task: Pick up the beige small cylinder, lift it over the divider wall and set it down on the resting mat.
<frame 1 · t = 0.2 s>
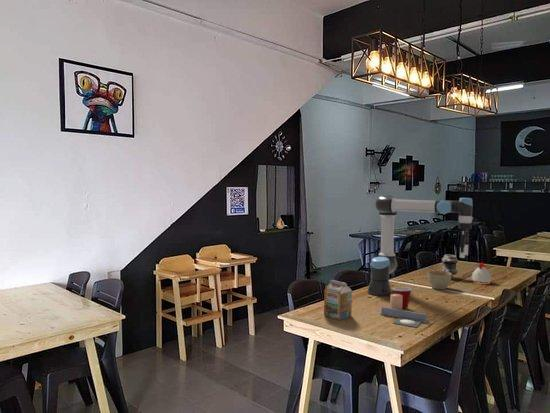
hand: (463, 256, 267), 28 cm above the table, fingers open, 13 cm apart
milk carton: (337, 316, 232), on the table
kitchen timer: (481, 282, 320), on the table
planter bowl: (438, 288, 300), on the table
resting mat: (407, 322, 222), on the table
beige small cylinder: (396, 312, 239), on the table
divider wall: (403, 317, 230), on the table
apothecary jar: (448, 278, 333), on the table
plastic cup: (401, 308, 249), on the table
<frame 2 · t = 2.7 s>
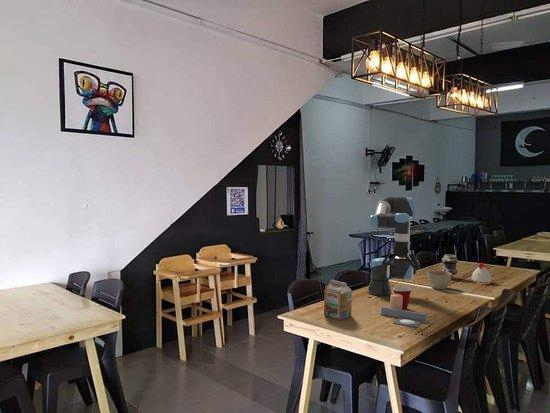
hand: (400, 278, 239), 19 cm above the table, fingers open, 13 cm apart
nothing on the table moved.
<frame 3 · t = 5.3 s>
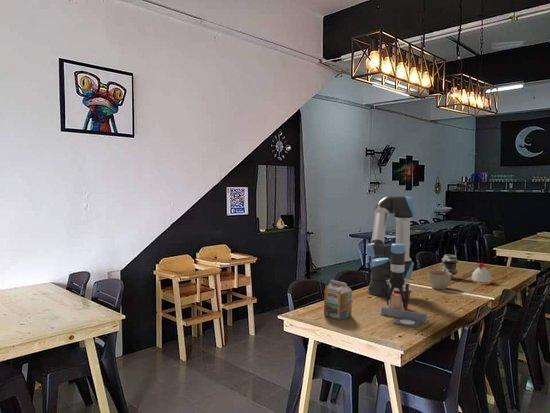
hand: (396, 312, 239), 0 cm above the table, fingers closed on beige small cylinder, 6 cm apart
beige small cylinder: (396, 312, 239), on the table, touching gripper
everything else where it was.
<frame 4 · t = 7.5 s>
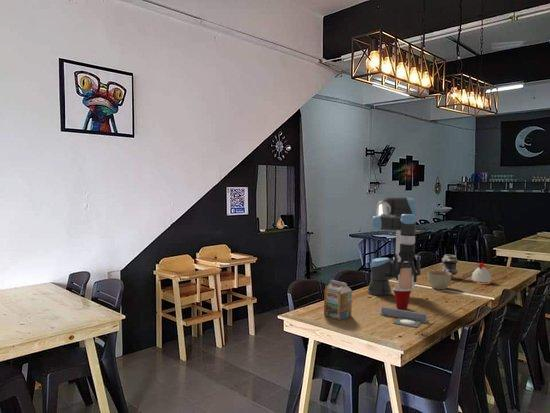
hand: (406, 287, 224), 18 cm above the table, fingers closed on beige small cylinder, 6 cm apart
beige small cylinder: (406, 288, 224), point 18 cm above the table, touching gripper
everything else where it was.
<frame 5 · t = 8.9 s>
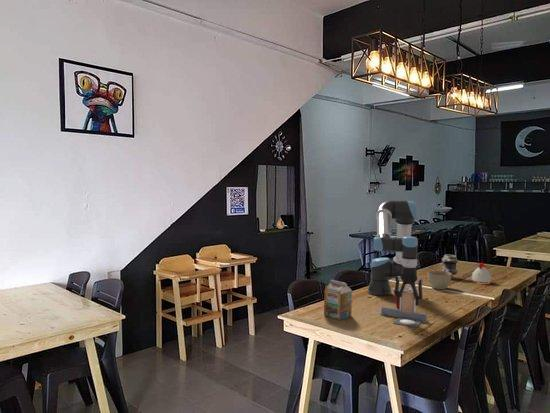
hand: (407, 310, 222), 7 cm above the table, fingers closed on beige small cylinder, 6 cm apart
beige small cylinder: (407, 311, 222), point 6 cm above the table, touching gripper
everything else where it was.
when the fingers open (2 cm above the table, at t = 9.9 s): beige small cylinder drops 1 cm, resting on resting mat.
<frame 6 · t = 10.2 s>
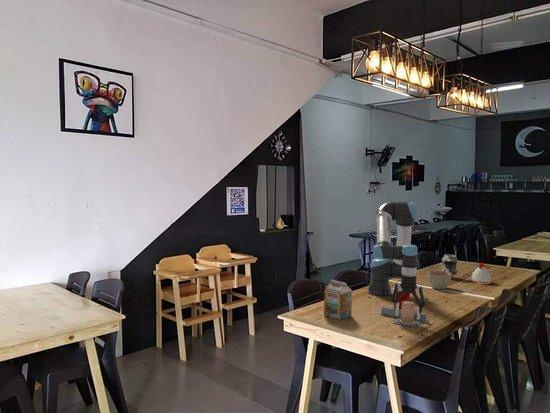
hand: (407, 317, 222), 3 cm above the table, fingers open, 10 cm apart
beige small cylinder: (407, 321, 222), point 1 cm above the table, touching resting mat
everything else where it was.
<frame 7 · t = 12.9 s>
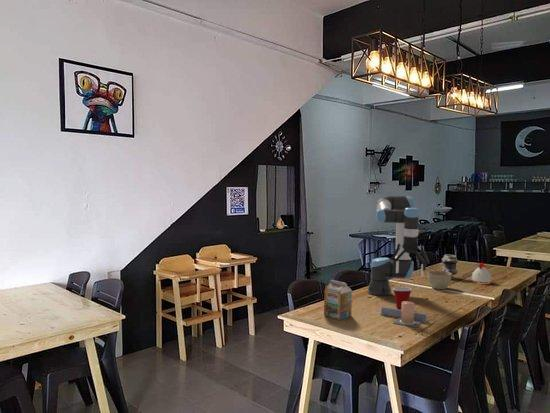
hand: (409, 274, 234), 23 cm above the table, fingers open, 13 cm apart
nothing on the table moved.
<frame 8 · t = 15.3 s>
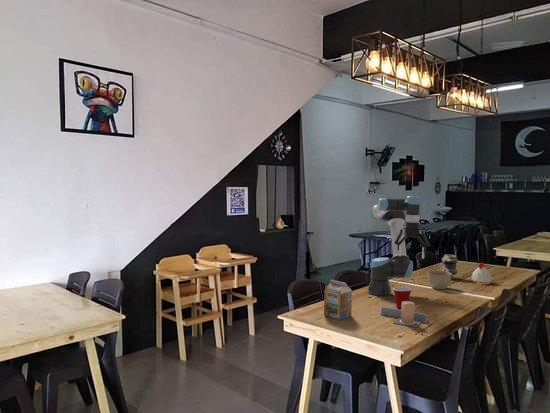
hand: (411, 257, 256), 29 cm above the table, fingers open, 13 cm apart
nothing on the table moved.
at the end: beige small cylinder 0.0 cm from the resting mat (horizontally); beige small cylinder tilted 0°; the gripper is holding nothing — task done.
